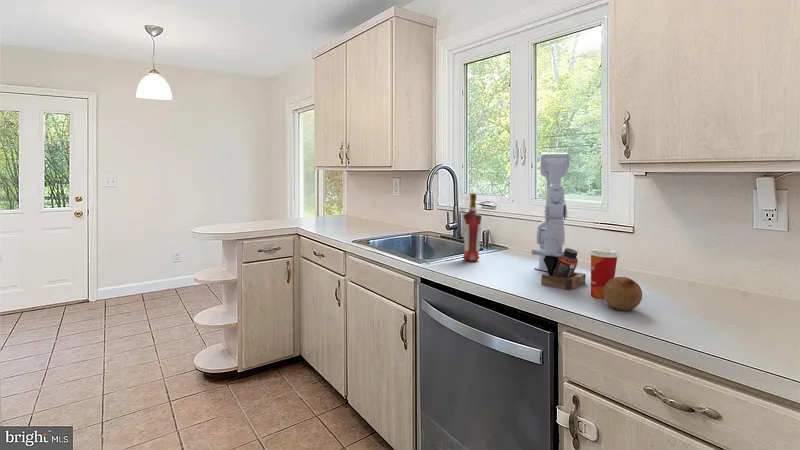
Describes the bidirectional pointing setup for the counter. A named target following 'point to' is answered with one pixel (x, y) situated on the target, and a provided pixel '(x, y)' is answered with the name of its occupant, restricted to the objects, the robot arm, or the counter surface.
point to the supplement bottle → (566, 264)
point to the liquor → (472, 231)
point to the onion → (622, 293)
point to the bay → (564, 281)
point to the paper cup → (602, 270)
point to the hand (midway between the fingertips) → (551, 278)
